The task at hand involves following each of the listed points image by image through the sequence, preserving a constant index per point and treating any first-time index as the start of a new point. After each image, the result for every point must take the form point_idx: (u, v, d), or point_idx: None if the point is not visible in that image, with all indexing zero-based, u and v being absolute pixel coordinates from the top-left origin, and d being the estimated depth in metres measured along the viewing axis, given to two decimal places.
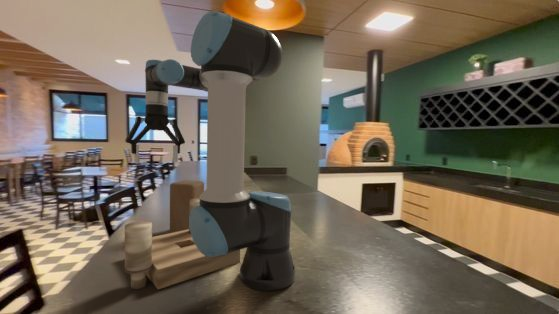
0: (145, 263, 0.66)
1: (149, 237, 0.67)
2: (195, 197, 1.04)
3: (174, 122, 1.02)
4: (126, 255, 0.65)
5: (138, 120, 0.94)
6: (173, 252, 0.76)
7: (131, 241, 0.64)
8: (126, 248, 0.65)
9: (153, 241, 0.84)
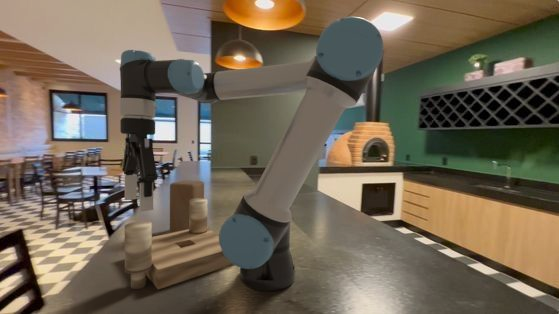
0: (145, 263, 0.66)
1: (149, 237, 0.67)
2: (195, 197, 1.04)
3: (140, 143, 0.61)
4: (126, 255, 0.65)
5: None
6: (173, 252, 0.76)
7: (130, 241, 0.64)
8: (126, 248, 0.65)
9: (153, 241, 0.84)
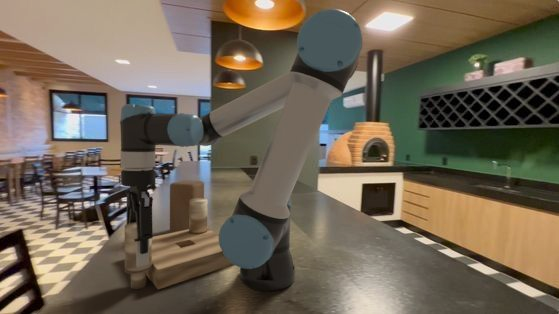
0: None
1: None
2: (195, 197, 1.04)
3: (140, 202, 0.62)
4: (126, 255, 0.65)
5: None
6: (173, 252, 0.76)
7: (130, 241, 0.64)
8: (126, 248, 0.65)
9: (153, 241, 0.84)
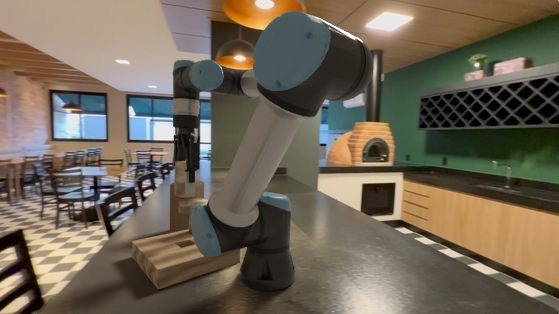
0: None
1: None
2: (195, 197, 1.04)
3: (190, 139, 0.76)
4: (176, 184, 0.80)
5: (174, 139, 0.85)
6: (173, 252, 0.76)
7: (181, 172, 0.79)
8: (176, 179, 0.79)
9: (153, 241, 0.84)
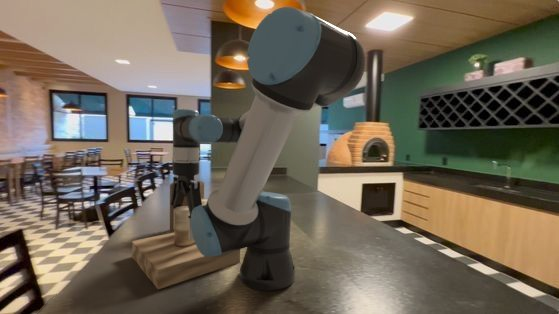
0: None
1: None
2: None
3: (190, 186, 0.77)
4: (176, 232, 0.80)
5: (173, 181, 0.86)
6: (173, 252, 0.76)
7: (180, 221, 0.79)
8: (176, 227, 0.80)
9: (153, 241, 0.84)
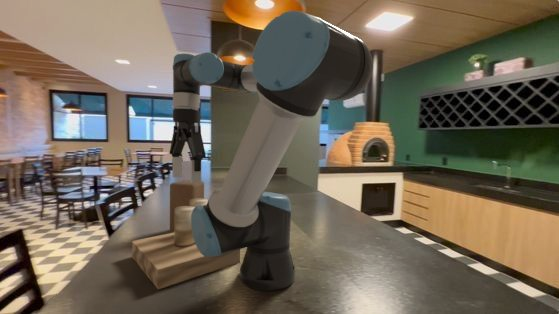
0: (191, 239, 0.81)
1: None
2: (195, 197, 1.04)
3: (191, 129, 0.76)
4: (176, 232, 0.80)
5: (174, 130, 0.85)
6: (173, 252, 0.76)
7: (180, 221, 0.79)
8: (176, 227, 0.80)
9: (153, 241, 0.84)
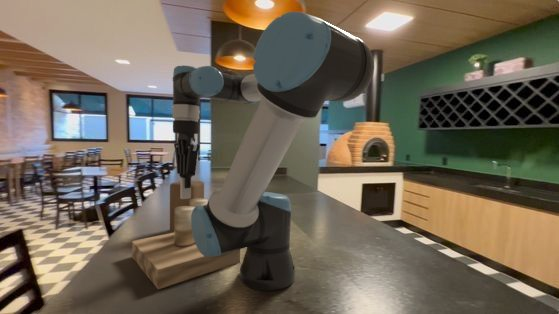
0: (191, 239, 0.81)
1: None
2: (195, 197, 1.04)
3: (189, 147, 0.77)
4: (176, 232, 0.80)
5: (175, 147, 0.85)
6: (173, 252, 0.76)
7: (180, 221, 0.79)
8: (176, 227, 0.80)
9: (153, 241, 0.84)
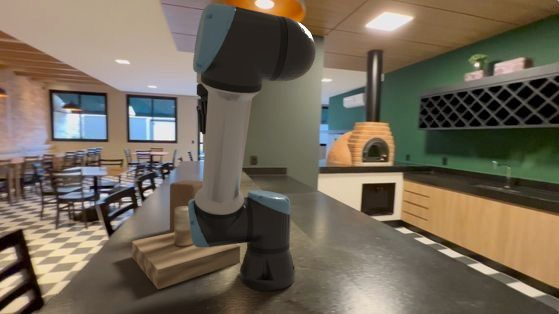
0: (191, 239, 0.81)
1: None
2: None
3: None
4: (176, 232, 0.80)
5: (197, 109, 0.97)
6: (173, 252, 0.76)
7: (180, 221, 0.79)
8: (176, 227, 0.80)
9: (153, 241, 0.84)
